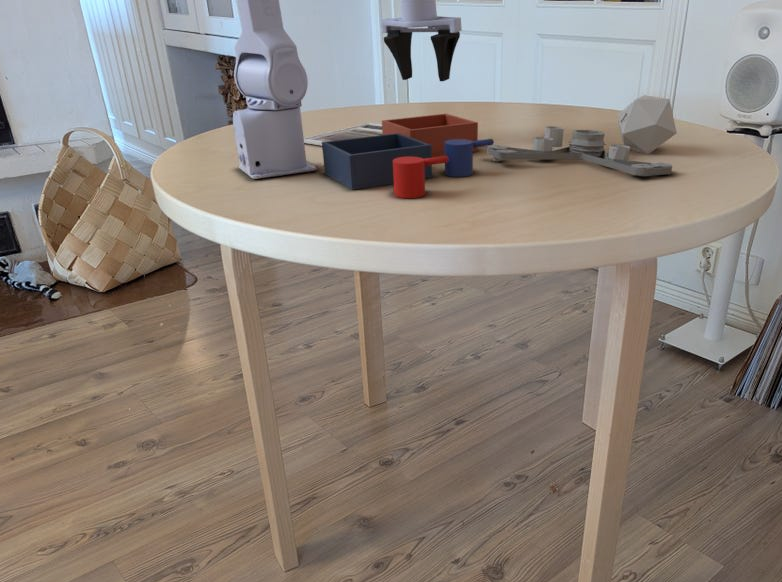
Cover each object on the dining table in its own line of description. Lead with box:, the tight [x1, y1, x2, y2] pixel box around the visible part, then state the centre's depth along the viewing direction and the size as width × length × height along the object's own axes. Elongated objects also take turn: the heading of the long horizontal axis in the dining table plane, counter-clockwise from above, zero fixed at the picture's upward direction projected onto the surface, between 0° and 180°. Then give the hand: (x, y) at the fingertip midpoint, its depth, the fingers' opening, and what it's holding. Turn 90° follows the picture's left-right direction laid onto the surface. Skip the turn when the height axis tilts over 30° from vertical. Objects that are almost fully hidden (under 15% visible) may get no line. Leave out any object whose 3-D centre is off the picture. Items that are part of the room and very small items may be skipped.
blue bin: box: [321, 133, 433, 191], centre depth 93 cm, size 12×10×4 cm
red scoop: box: [393, 156, 449, 199], centre depth 86 cm, size 8×4×4 cm, turn 120°
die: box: [616, 94, 678, 155], centre depth 105 cm, size 8×9×10 cm
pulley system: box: [486, 125, 673, 177], centre depth 99 cm, size 27×5×15 cm
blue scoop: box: [444, 138, 495, 178], centre depth 95 cm, size 8×4×4 cm, turn 120°
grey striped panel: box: [304, 122, 383, 147], centre depth 118 cm, size 11×1×18 cm
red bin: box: [381, 113, 479, 158], centre depth 108 cm, size 12×10×4 cm
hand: (425, 79), depth 112 cm, fingers open, 7 cm apart
